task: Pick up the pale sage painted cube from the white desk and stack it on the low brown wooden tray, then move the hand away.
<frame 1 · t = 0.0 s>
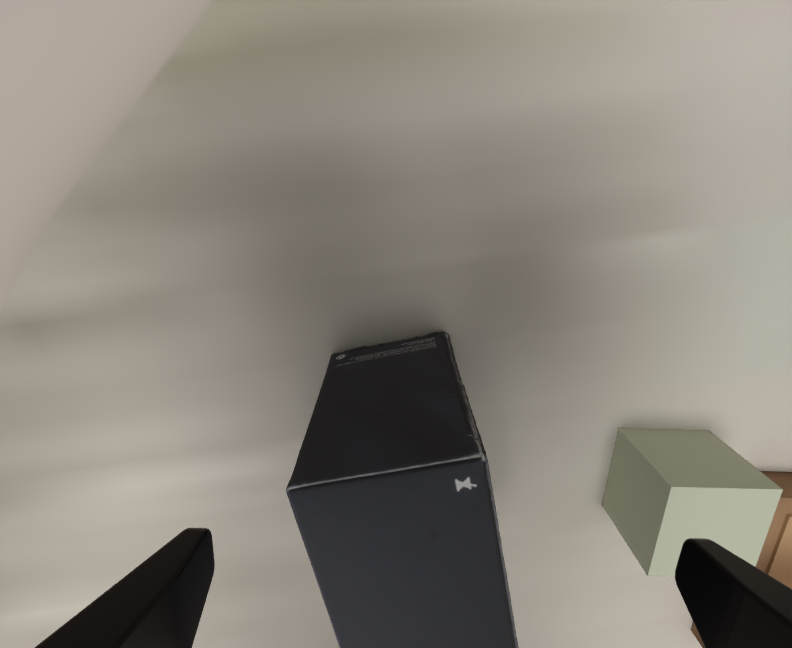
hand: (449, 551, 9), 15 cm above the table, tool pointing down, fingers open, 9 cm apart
small box: (404, 428, 25), on the table
sage cube: (653, 467, 26), on the table
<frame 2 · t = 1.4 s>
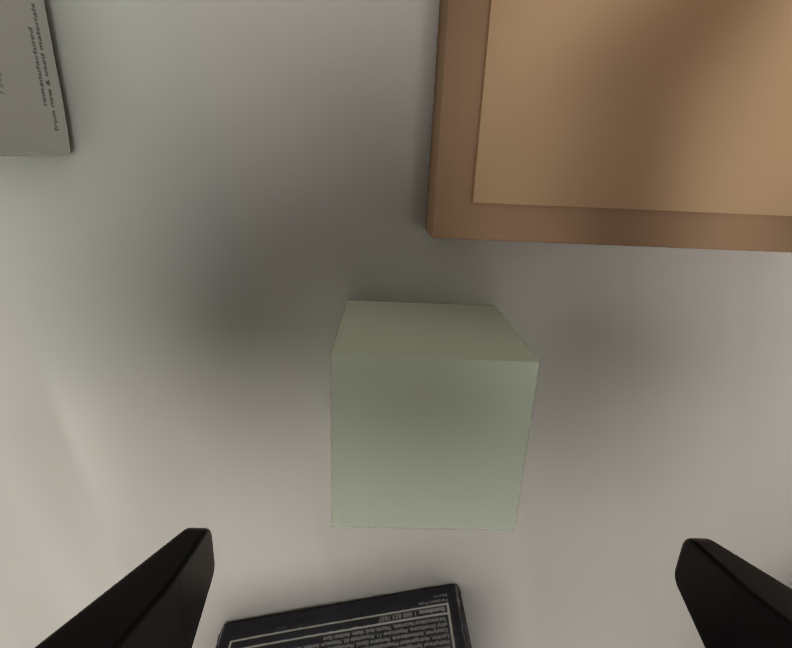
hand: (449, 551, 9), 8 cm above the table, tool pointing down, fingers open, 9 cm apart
brown wooden tray: (641, 63, 13), on the table
sage cube: (416, 369, 17), on the table
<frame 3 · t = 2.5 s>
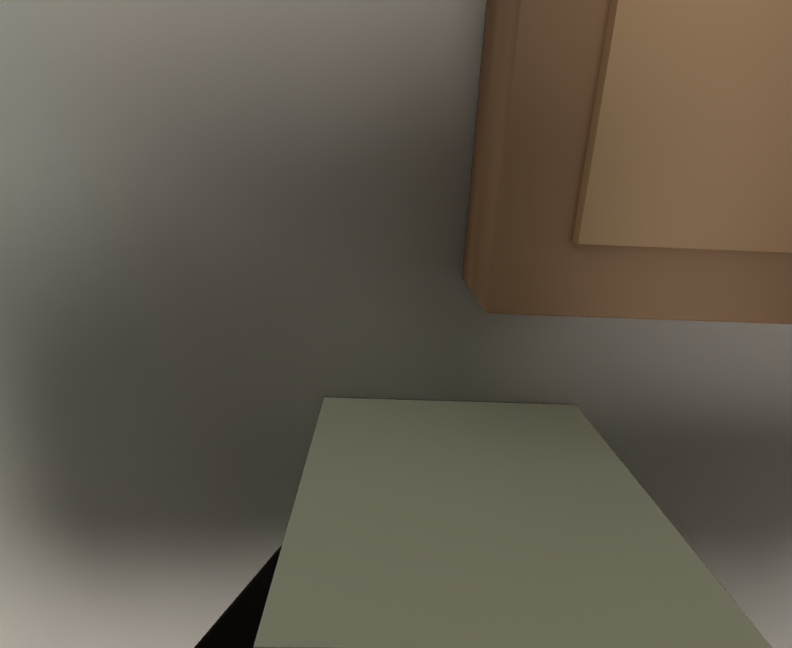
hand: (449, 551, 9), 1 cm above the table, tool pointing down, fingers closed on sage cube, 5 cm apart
sage cube: (441, 505, 10), on the table, touching gripper
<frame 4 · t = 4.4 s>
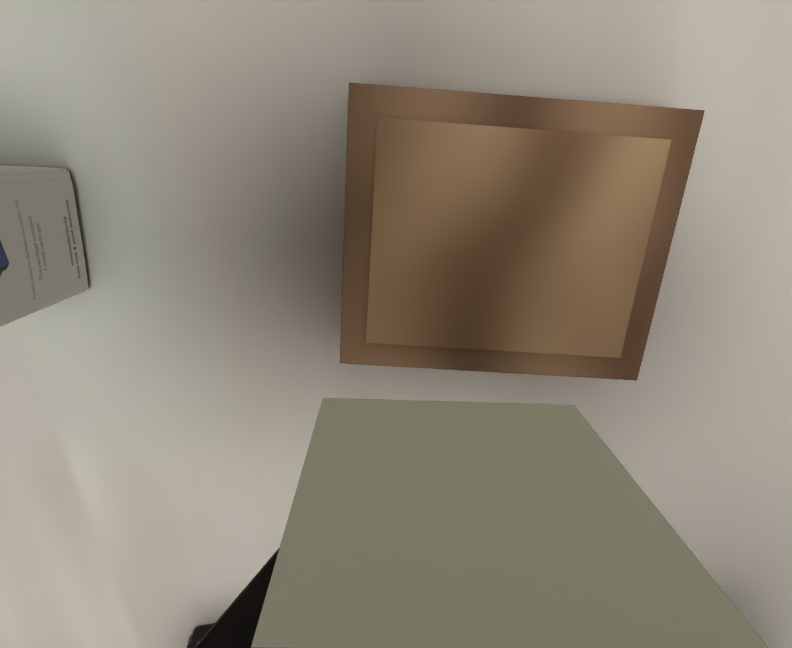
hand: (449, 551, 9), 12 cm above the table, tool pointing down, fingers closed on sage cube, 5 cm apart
brown wooden tray: (494, 238, 19), on the table
sage cube: (440, 505, 10), point 11 cm above the table, touching gripper
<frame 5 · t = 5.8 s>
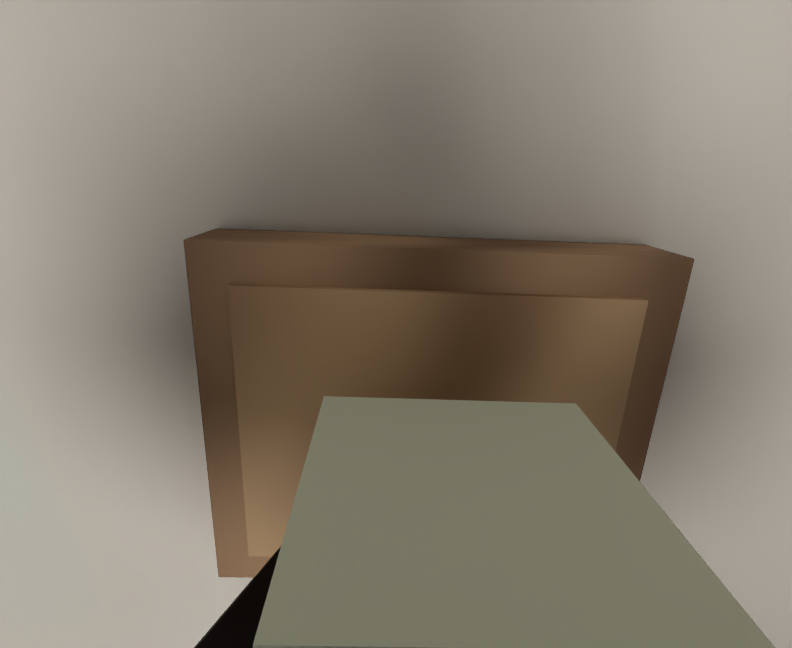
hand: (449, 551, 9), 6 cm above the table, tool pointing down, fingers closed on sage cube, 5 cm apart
brown wooden tray: (423, 397, 14), on the table
sage cube: (441, 504, 10), point 5 cm above the table, touching gripper
when the fingers open (4 cm above the table, at t = 6.5 s): sage cube stays where it is, resting on brown wooden tray.
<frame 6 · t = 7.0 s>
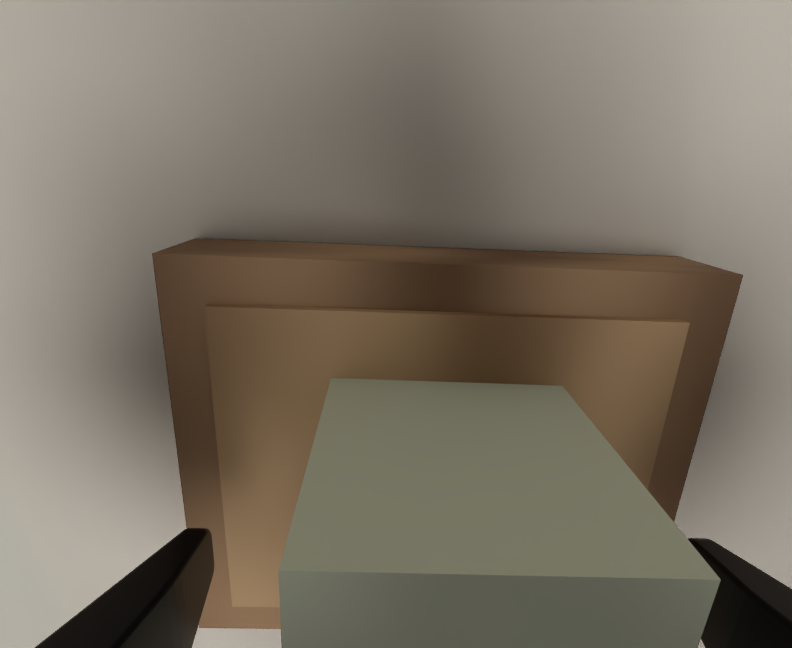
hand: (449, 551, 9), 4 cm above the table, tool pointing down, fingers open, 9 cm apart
brown wooden tray: (428, 425, 13), on the table
sage cube: (438, 479, 11), point 2 cm above the table, touching brown wooden tray
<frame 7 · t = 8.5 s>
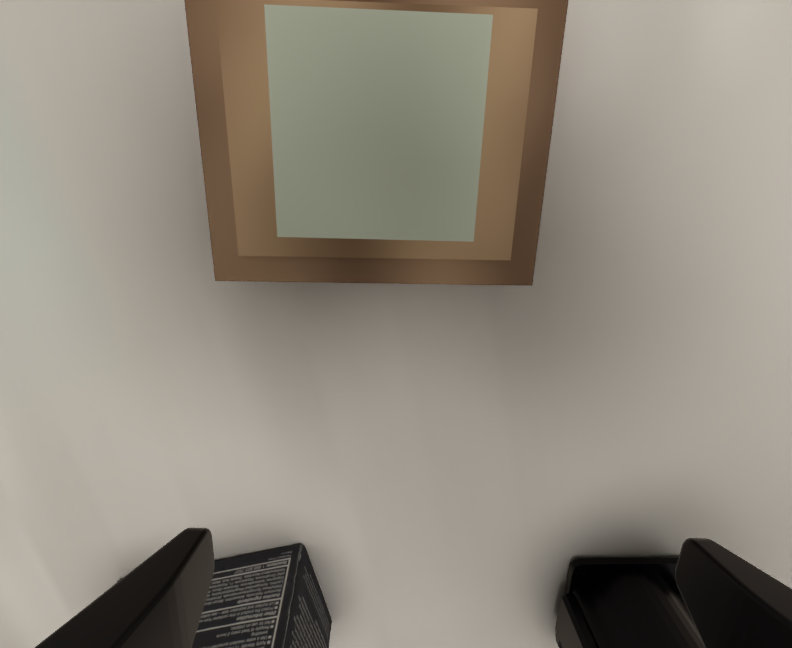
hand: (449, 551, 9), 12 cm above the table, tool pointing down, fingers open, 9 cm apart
brown wooden tray: (377, 143, 18), on the table
small box: (230, 599, 26), on the table
sage cube: (378, 141, 16), point 2 cm above the table, touching brown wooden tray
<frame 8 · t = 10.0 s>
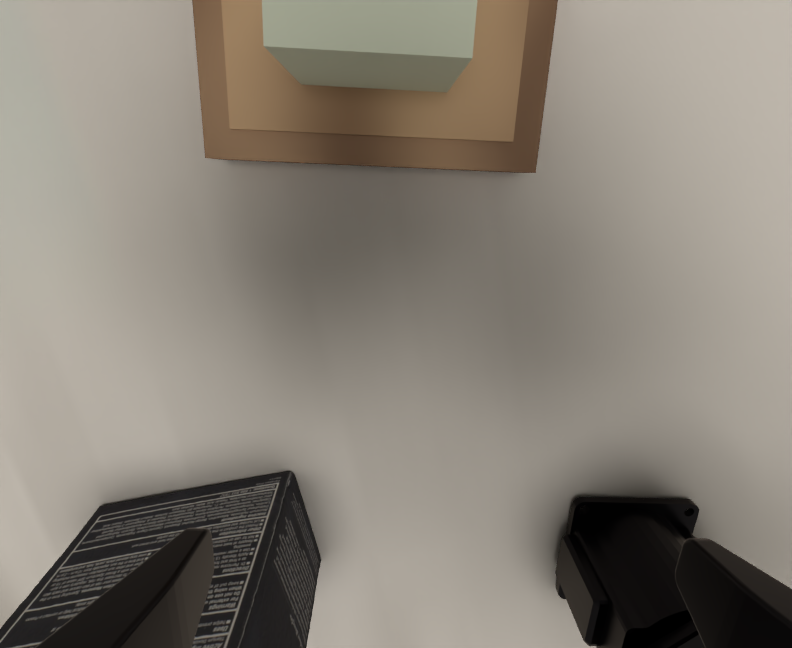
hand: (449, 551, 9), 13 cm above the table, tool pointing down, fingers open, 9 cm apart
brown wooden tray: (377, 25, 17), on the table
small box: (216, 532, 25), on the table
sage cube: (377, 3, 15), point 2 cm above the table, touching brown wooden tray
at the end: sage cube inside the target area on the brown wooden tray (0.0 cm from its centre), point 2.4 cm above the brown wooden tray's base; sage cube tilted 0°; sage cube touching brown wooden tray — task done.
